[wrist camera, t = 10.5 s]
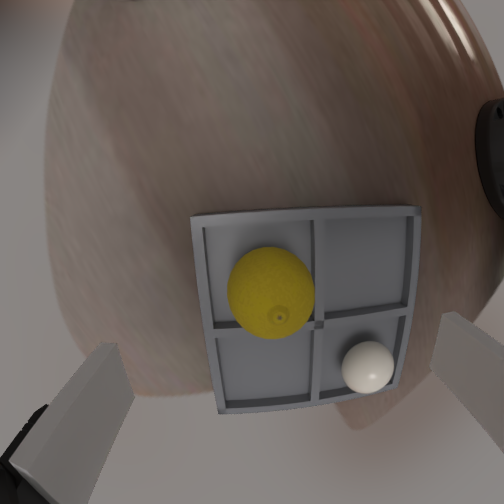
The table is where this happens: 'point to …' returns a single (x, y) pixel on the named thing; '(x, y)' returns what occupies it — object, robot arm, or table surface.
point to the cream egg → (367, 367)
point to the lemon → (271, 293)
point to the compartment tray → (326, 299)
